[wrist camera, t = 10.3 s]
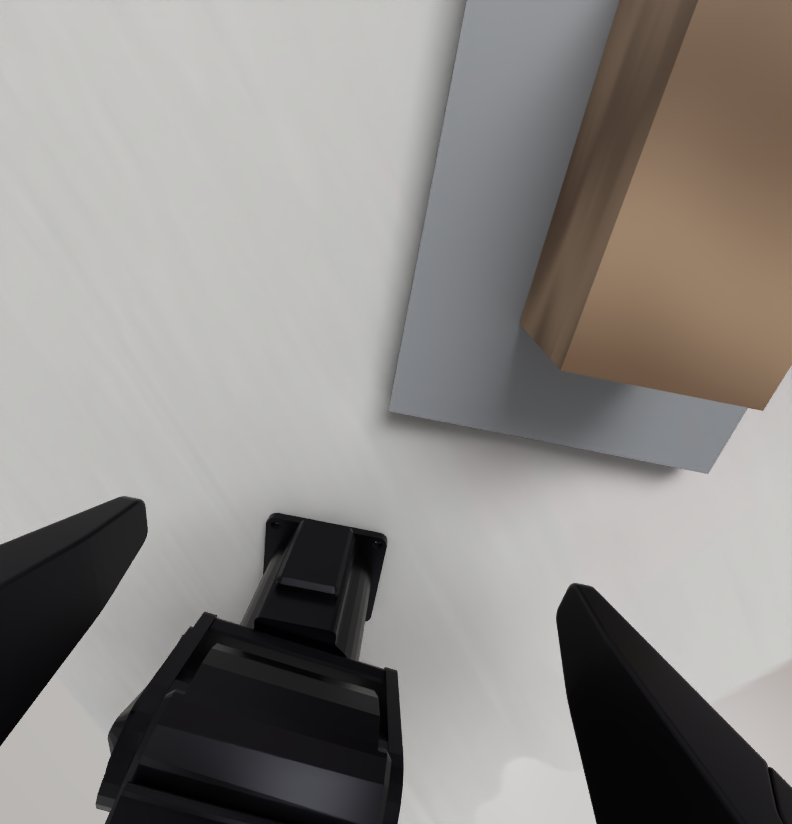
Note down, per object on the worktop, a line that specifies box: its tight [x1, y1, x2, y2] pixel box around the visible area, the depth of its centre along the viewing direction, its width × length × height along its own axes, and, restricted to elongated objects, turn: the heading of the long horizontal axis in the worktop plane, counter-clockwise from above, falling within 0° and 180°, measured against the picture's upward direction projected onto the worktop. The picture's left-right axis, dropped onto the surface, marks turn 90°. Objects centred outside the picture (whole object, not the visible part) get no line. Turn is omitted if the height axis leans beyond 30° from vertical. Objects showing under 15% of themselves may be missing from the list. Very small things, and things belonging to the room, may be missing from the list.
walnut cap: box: [519, 0, 792, 411], centre depth 11 cm, size 11×5×6 cm, turn 170°
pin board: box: [388, 0, 747, 474], centre depth 13 cm, size 20×14×5 cm
